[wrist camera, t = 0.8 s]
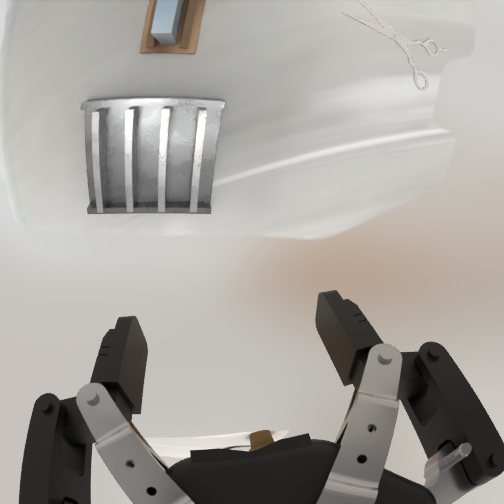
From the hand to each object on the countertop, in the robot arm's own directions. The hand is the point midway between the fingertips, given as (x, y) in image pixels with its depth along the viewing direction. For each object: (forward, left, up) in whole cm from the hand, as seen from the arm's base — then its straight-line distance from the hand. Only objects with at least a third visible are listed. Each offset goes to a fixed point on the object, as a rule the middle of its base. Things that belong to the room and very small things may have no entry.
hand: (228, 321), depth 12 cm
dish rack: (-5, -4, -25) cm, 26 cm away
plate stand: (-13, +12, -25) cm, 31 cm away
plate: (-13, +13, -24) cm, 30 cm away
